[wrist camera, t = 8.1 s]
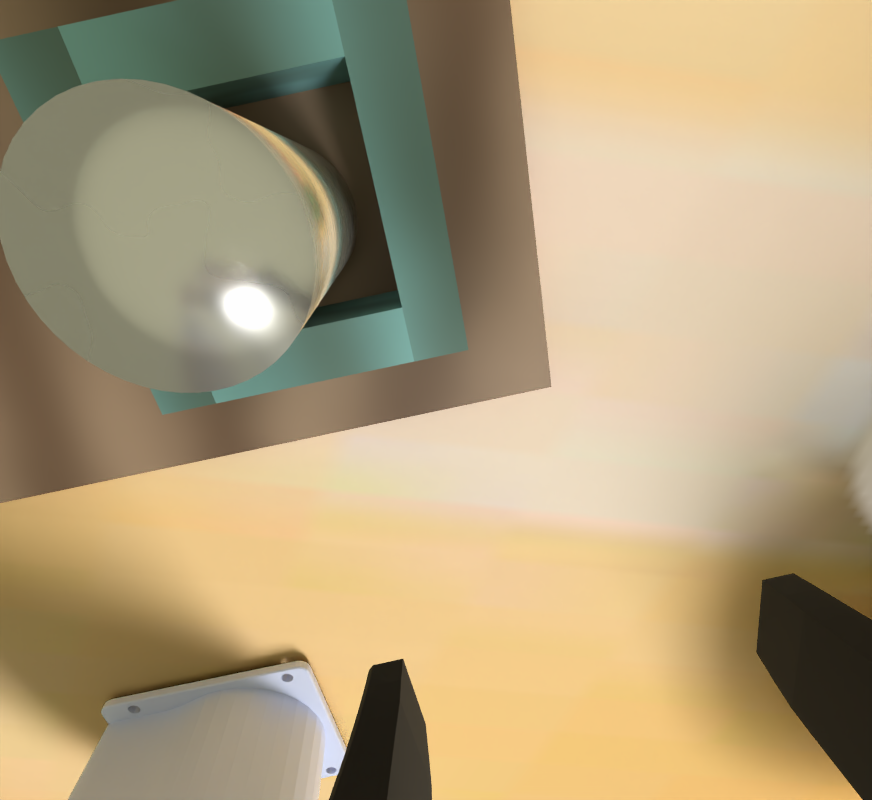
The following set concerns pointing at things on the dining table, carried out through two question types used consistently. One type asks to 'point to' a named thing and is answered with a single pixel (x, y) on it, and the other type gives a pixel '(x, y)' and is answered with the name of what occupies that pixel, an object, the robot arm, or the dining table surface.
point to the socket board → (376, 217)
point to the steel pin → (169, 233)
